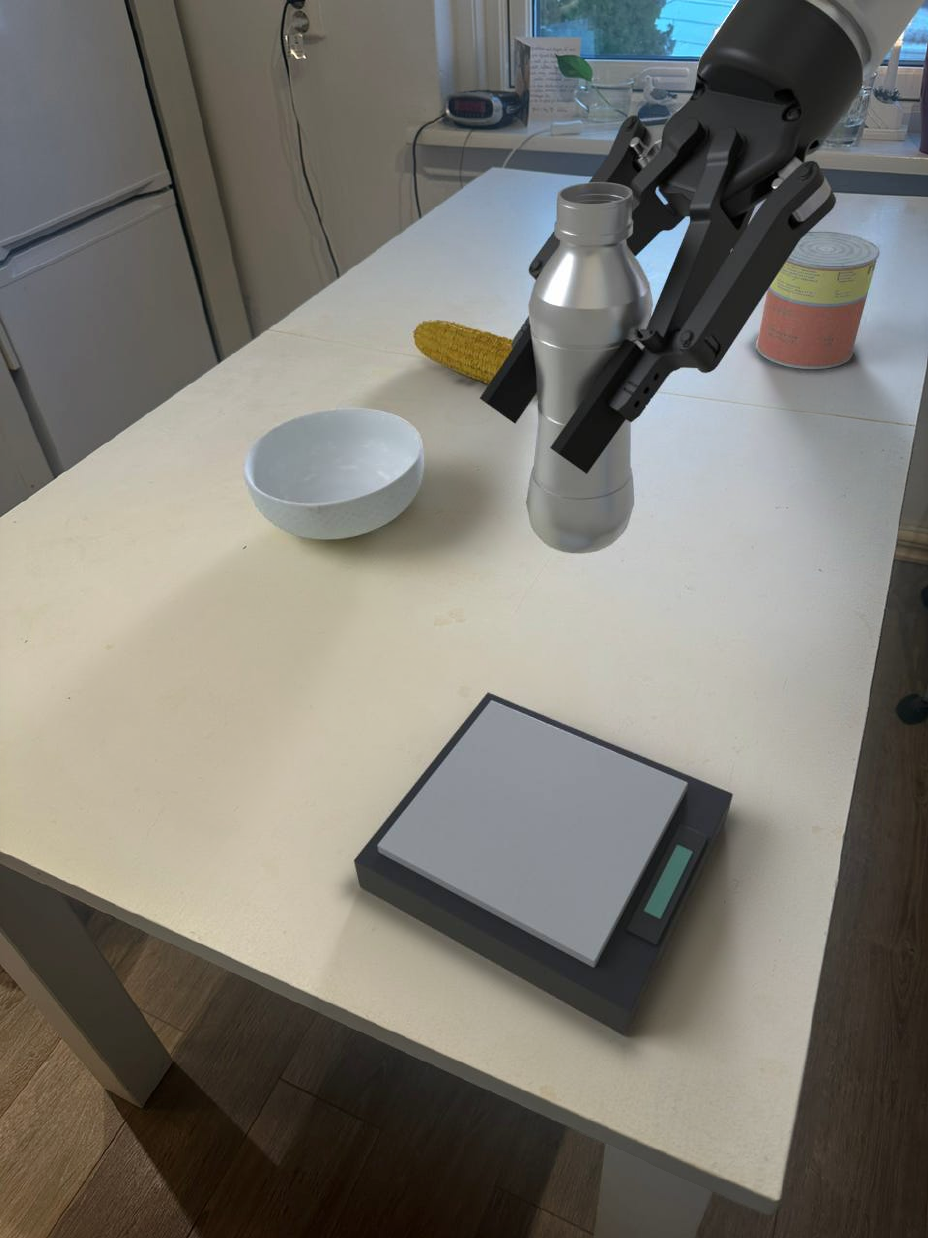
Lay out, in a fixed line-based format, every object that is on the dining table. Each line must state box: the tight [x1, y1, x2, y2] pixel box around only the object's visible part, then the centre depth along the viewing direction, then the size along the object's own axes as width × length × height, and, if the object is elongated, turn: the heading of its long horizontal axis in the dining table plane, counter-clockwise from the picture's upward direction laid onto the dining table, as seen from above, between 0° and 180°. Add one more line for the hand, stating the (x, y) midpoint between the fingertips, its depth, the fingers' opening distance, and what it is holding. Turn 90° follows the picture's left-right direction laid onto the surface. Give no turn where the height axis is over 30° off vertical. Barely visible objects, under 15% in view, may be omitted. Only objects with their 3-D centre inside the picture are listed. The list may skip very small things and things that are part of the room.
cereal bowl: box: [242, 407, 425, 541], centre depth 83 cm, size 17×17×7 cm
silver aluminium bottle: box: [525, 182, 654, 555], centre depth 48 cm, size 6×7×20 cm
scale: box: [353, 691, 734, 1037], centre depth 55 cm, size 18×16×4 cm
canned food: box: [755, 231, 880, 370], centre depth 103 cm, size 11×11×12 cm
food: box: [412, 319, 537, 397], centre depth 104 cm, size 21×6×6 cm, turn 48°
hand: (531, 434), depth 48 cm, fingers closed on silver aluminium bottle, 6 cm apart
